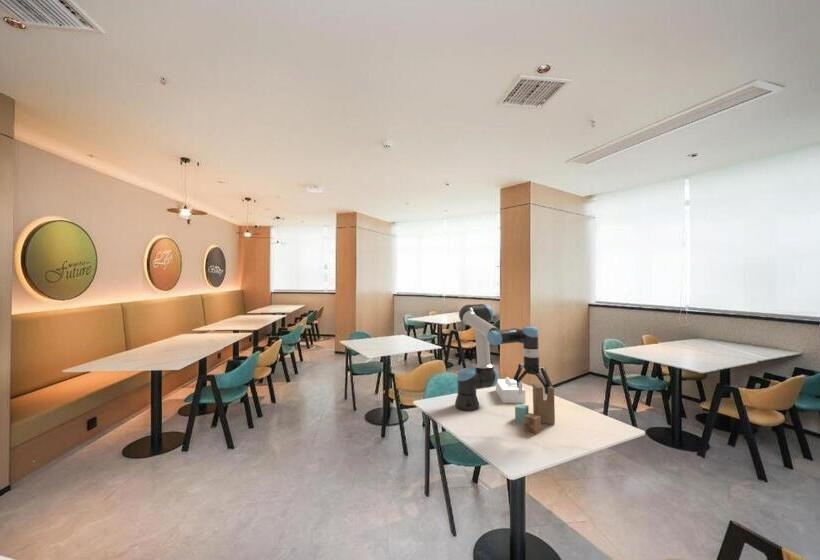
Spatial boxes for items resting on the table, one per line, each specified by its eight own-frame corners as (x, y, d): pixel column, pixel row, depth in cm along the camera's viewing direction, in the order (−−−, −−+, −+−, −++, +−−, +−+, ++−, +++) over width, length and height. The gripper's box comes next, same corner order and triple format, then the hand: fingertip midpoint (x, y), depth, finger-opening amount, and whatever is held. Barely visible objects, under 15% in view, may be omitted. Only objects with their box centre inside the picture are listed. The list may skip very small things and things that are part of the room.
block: (555, 424, 181) (554, 388, 182) (536, 423, 183) (535, 387, 184) (551, 417, 191) (550, 382, 191) (533, 416, 193) (532, 382, 193)
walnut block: (524, 431, 174) (524, 416, 175) (530, 427, 178) (529, 412, 179) (535, 434, 170) (535, 419, 170) (541, 431, 174) (540, 415, 174)
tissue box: (502, 403, 217) (502, 386, 217) (495, 390, 242) (495, 375, 242) (525, 403, 216) (525, 386, 216) (516, 390, 240) (515, 375, 241)
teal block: (515, 421, 187) (515, 406, 188) (518, 417, 193) (517, 403, 193) (526, 423, 184) (525, 408, 184) (528, 419, 189) (528, 405, 189)
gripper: (506, 354, 181) (507, 393, 181) (551, 360, 163) (553, 404, 162) (513, 352, 186) (514, 390, 186) (558, 358, 168) (559, 400, 168)
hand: (532, 396), depth 174 cm, fingers open, 13 cm apart
